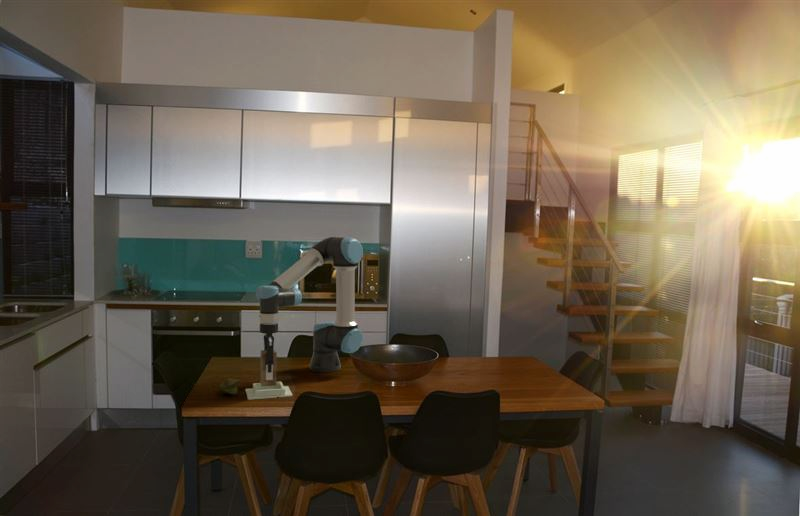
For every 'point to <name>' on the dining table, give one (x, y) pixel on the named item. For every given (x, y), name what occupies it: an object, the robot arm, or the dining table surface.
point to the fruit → (229, 386)
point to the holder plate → (268, 391)
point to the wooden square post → (263, 369)
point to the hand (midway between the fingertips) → (268, 377)
